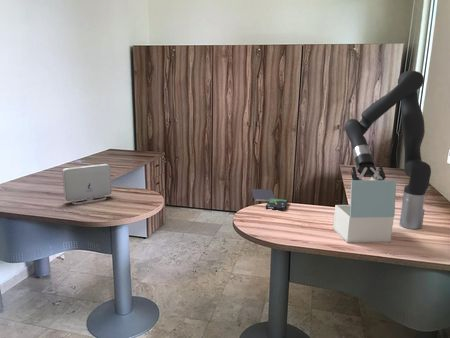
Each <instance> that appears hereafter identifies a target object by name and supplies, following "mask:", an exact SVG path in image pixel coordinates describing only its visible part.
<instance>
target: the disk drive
mask: <svg viewBox="0 0 450 338" xmlns="http://www.w3.org/2000/svg"><path fill="white" fill-rule="evenodd" d="M288 201H289V200H288V199H281V198H275V199H273V198H271V199H270V200H269V201H267V203H266V204H265V210H268V209H272V210H271V211H276V210H278V211H277V212H285V209H286V208H285V207H287V206H286V205H288Z"/></svg>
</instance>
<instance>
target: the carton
mask: <svg viewBox="0 0 450 338" xmlns="http://www.w3.org/2000/svg"><path fill="white" fill-rule="evenodd" d="M334 207H335V208H334V215H333V216H334V217H333V226H332V229H333V230H334V231H335V232H336V234H338V235H339V236H340V238H341V239H343V240H344V241H345V243H347V244H354V243H356V244H361V243H365V244H366V243H367V242H370V243H391V241H392V234H393V226H394V219H395V216H394V217H351V218H350V204H335V206H334Z"/></svg>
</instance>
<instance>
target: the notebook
mask: <svg viewBox="0 0 450 338" xmlns="http://www.w3.org/2000/svg"><path fill="white" fill-rule="evenodd" d="M251 192H252V197H253V201H255V202H256V201H257V202H268V201H269V200H270V199H271V198H273V199H276V197H275V194H274V192H273V190H272V189H271V188H270V189H267V188H263V189H260V188H257V189H256V188H252V189H251Z"/></svg>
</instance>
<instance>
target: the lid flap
mask: <svg viewBox="0 0 450 338" xmlns="http://www.w3.org/2000/svg"><path fill="white" fill-rule="evenodd" d="M396 190H397V180H396V179H393V180H391V179H389V180H387V179H384V180H371V179H368V180H367V179H366V180H365V179H364V180H363V179H361V180H351V181H350V201H349V202H350V203H349V205H350V218H351V217H394V218H395V211H396V210H395V209H396V195H397V194H396V193H397V191H396Z"/></svg>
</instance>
